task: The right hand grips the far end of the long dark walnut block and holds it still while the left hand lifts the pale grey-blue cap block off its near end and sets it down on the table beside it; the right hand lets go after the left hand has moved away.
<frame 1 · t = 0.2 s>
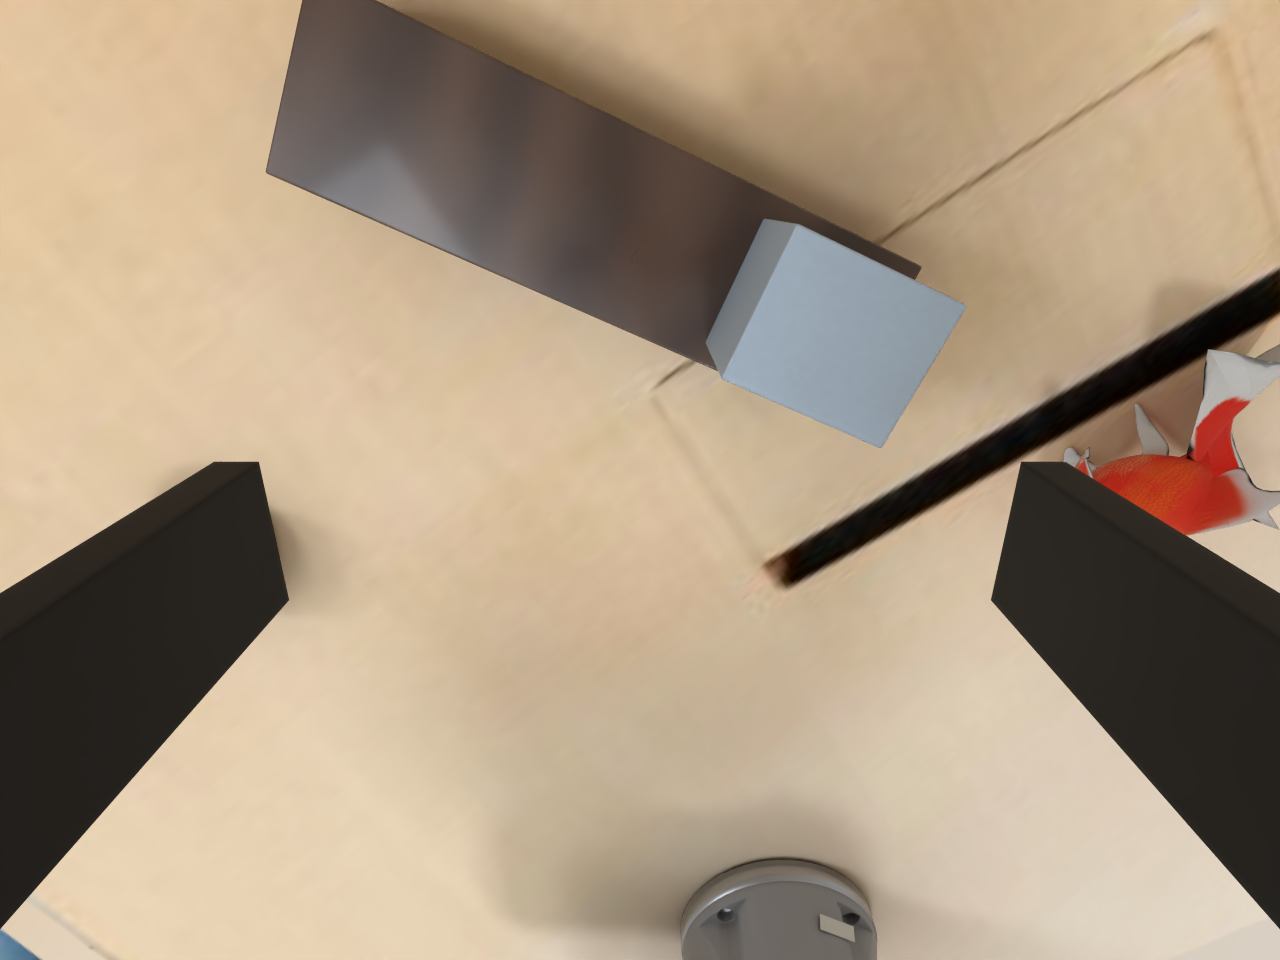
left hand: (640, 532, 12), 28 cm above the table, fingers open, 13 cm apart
walnut base: (607, 217, 36), on the table, touching cap block
fish: (1135, 426, 40), on the table
cap block: (801, 313, 32), point 6 cm above the table, touching walnut base
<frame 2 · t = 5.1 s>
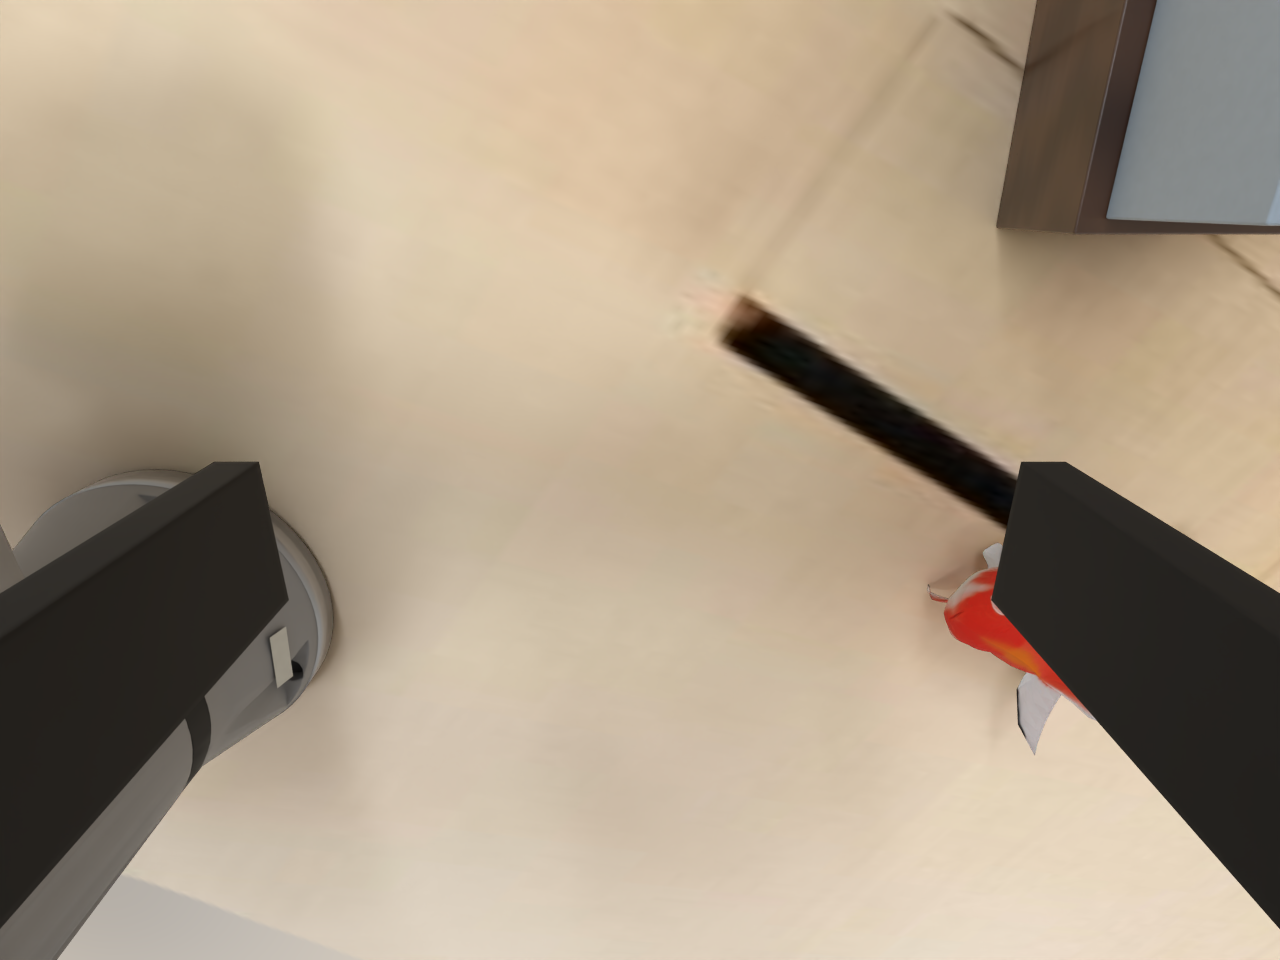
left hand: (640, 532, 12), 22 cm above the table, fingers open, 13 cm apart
fish: (1036, 590, 38), on the table
cap block: (1217, 109, 24), point 6 cm above the table, touching walnut base
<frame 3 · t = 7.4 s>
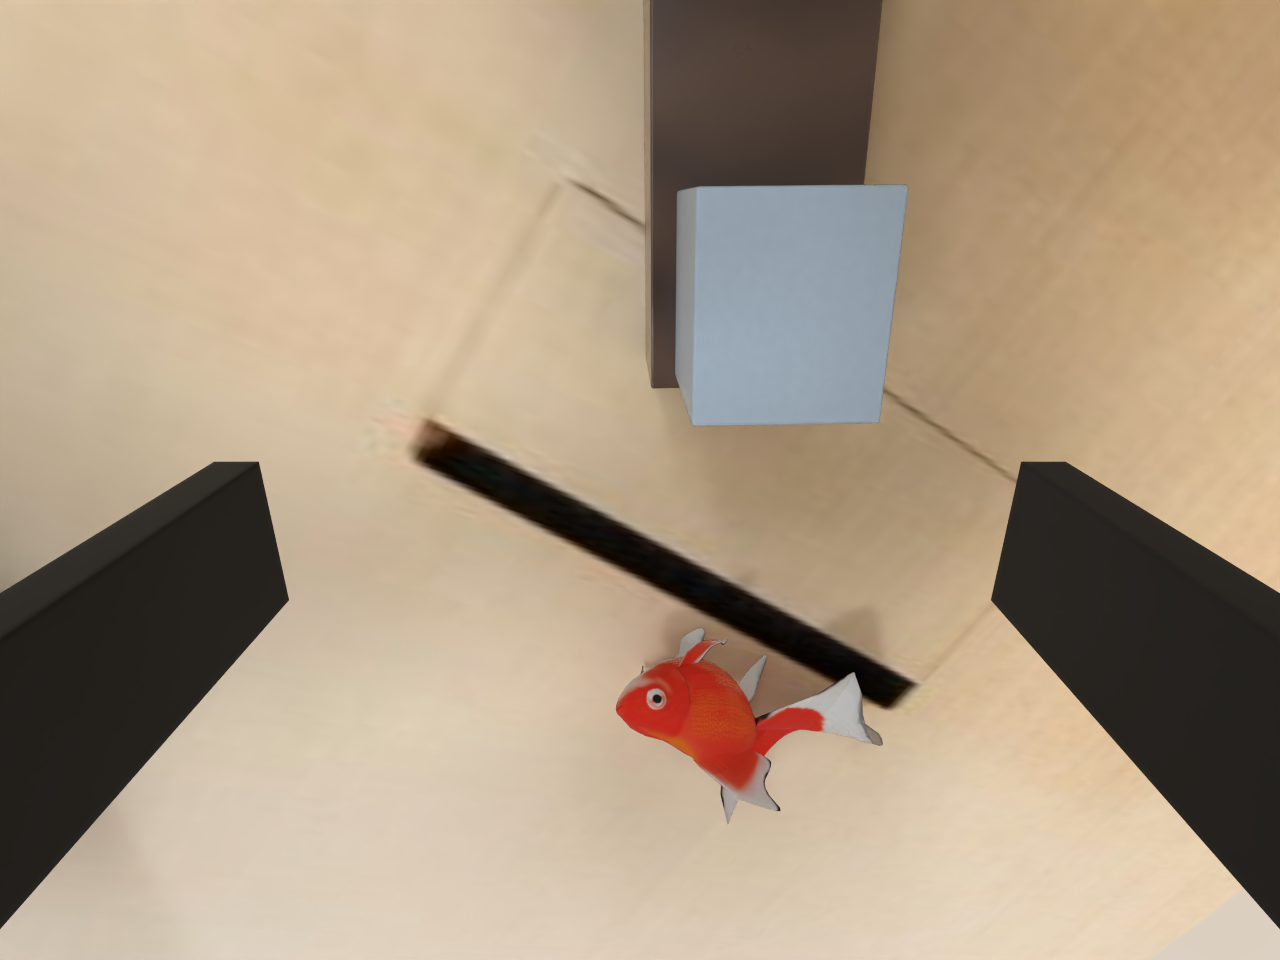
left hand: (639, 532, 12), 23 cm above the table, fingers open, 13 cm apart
walnut base: (739, 24, 29), on the table, touching cap block
fish: (745, 668, 41), on the table
cap block: (752, 286, 27), point 6 cm above the table, touching walnut base
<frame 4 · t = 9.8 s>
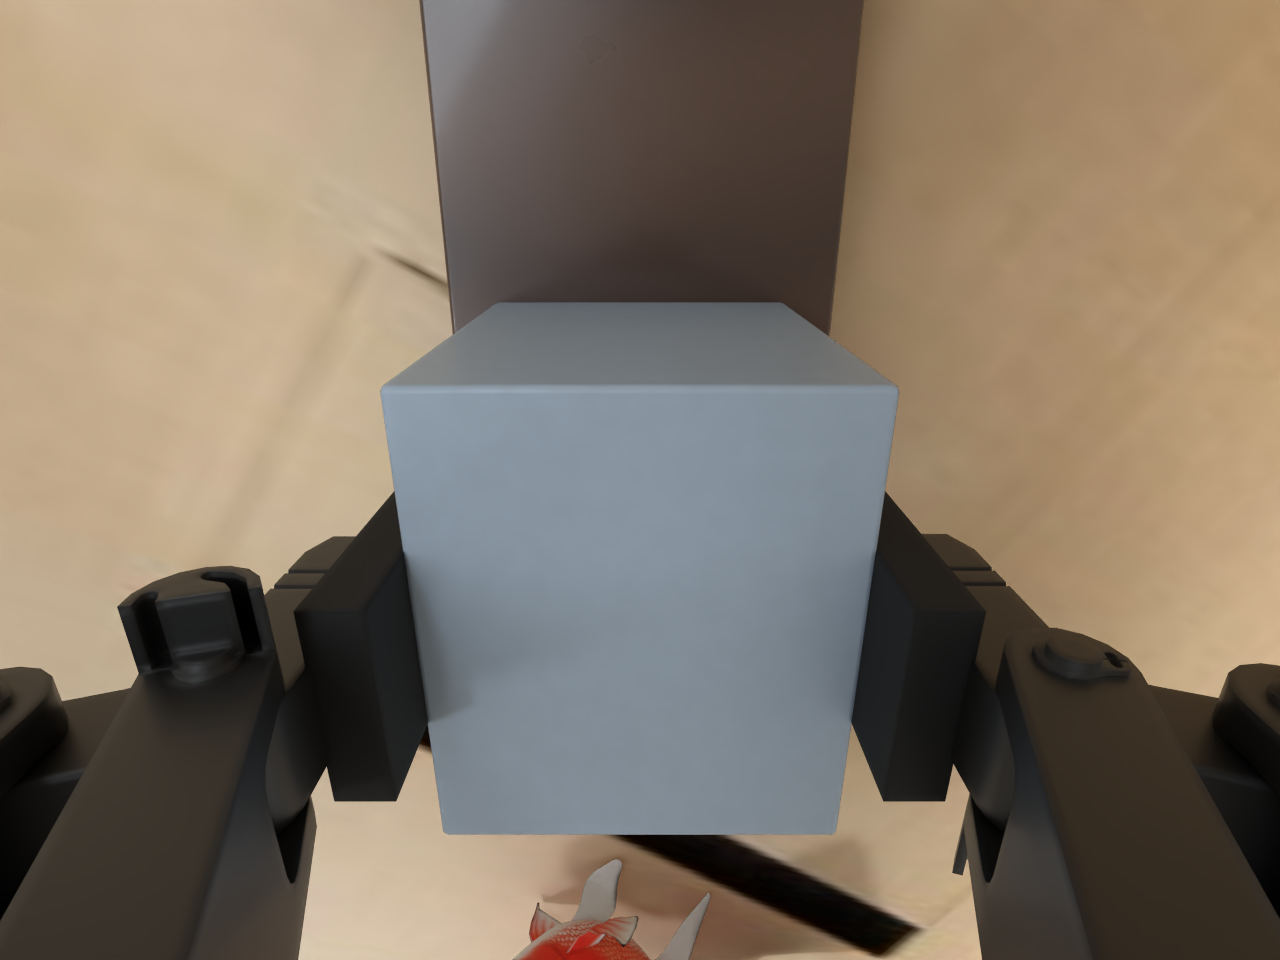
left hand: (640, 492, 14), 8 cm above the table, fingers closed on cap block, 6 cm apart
walnut base: (641, 6, 18), on the table, touching cap block
fish: (682, 906, 30), on the table
cap block: (639, 460, 16), point 6 cm above the table, touching left hand, walnut base
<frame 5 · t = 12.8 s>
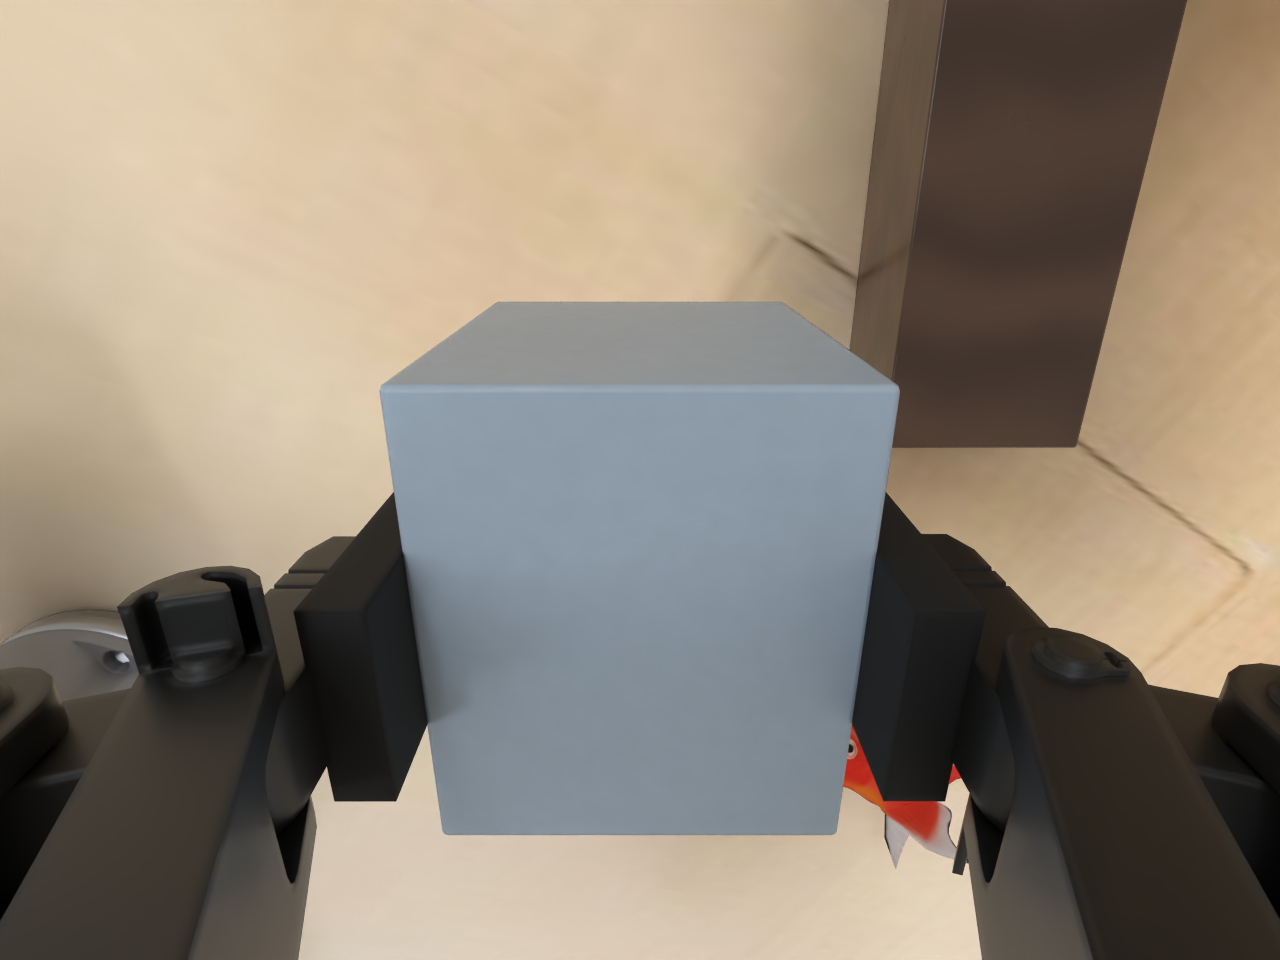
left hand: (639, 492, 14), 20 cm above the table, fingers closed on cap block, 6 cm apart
walnut base: (975, 82, 29), on the table
fish: (906, 710, 41), on the table
cap block: (639, 459, 16), point 18 cm above the table, touching left hand
when the left hand's fingers open (3 cm above the table, at t = 16.1 s): cap block drops 2 cm, on the table.
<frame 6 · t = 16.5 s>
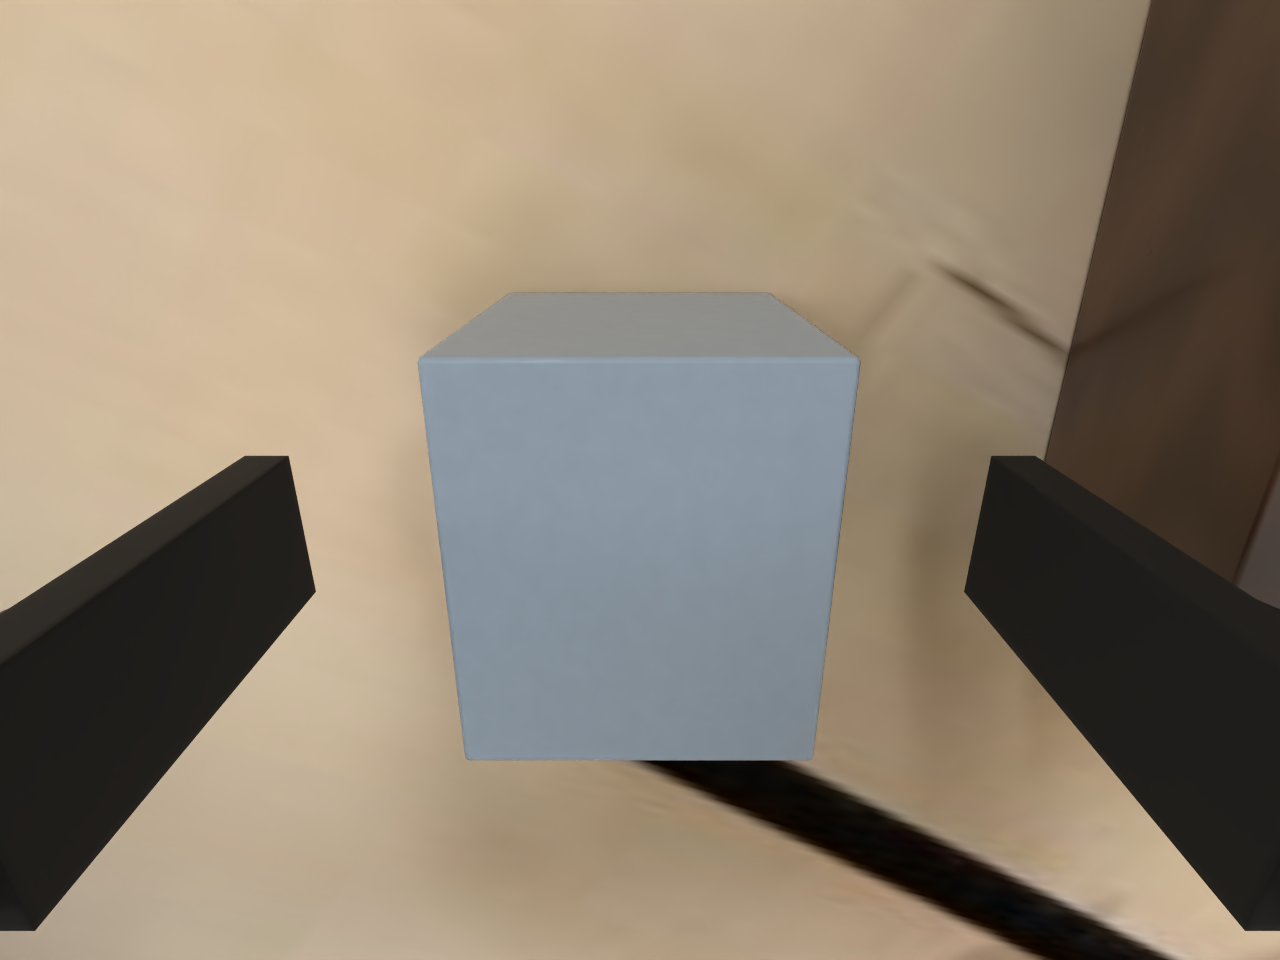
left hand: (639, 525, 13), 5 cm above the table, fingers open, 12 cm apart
cap block: (639, 438, 17), on the table
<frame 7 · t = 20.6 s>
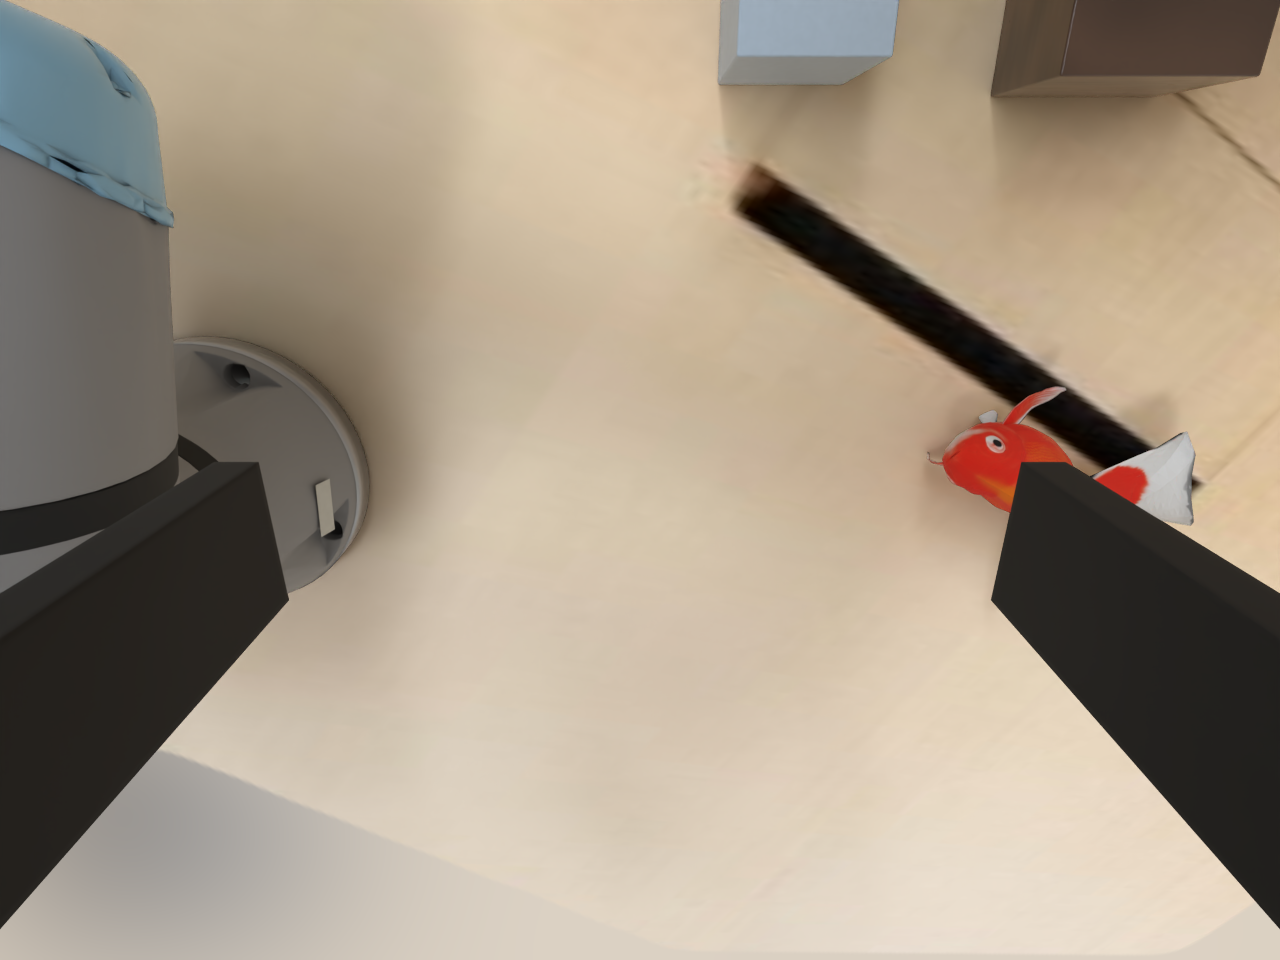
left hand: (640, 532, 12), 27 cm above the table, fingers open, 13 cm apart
fish: (1029, 459, 40), on the table
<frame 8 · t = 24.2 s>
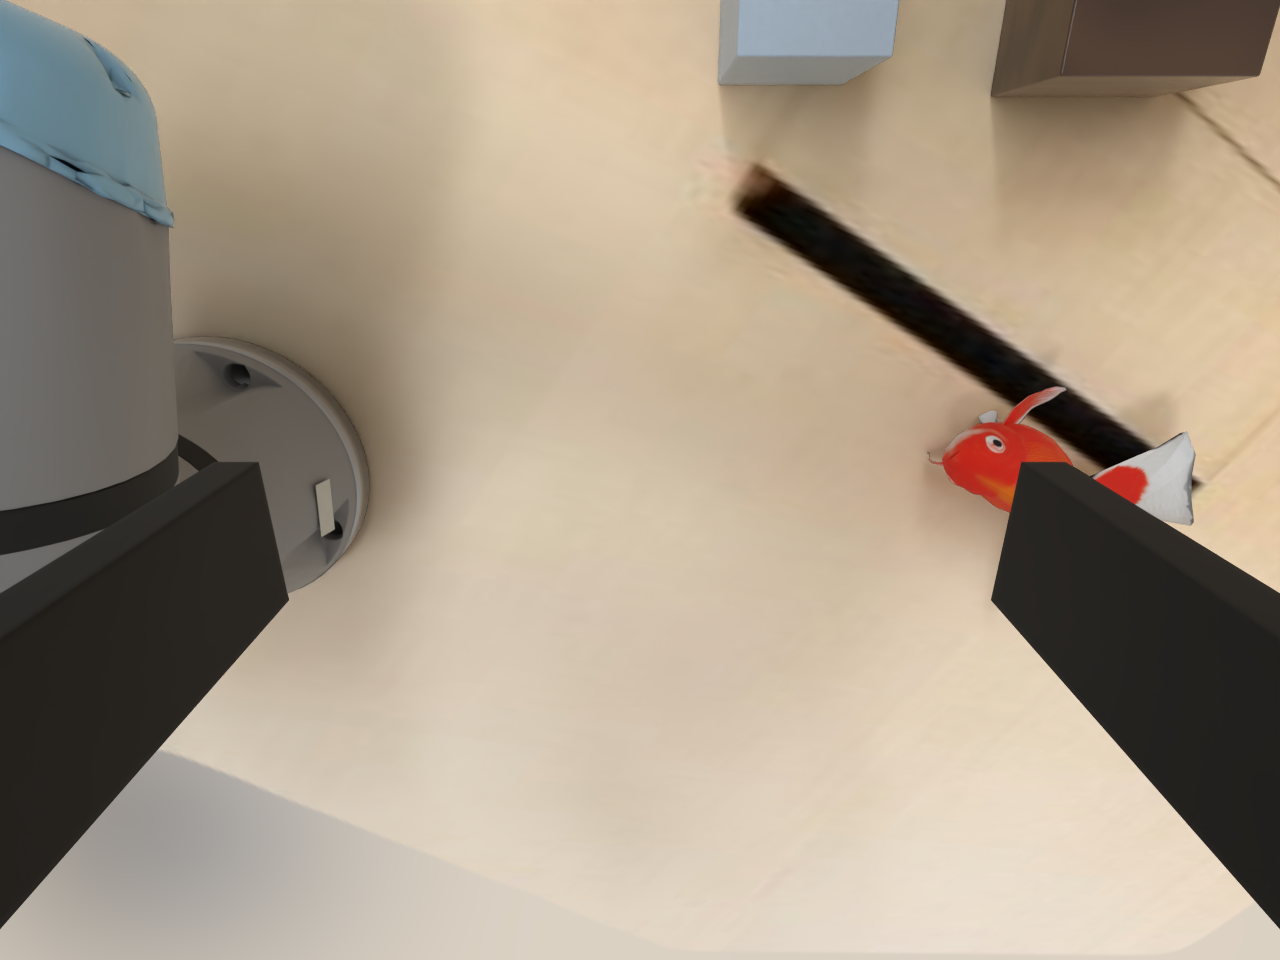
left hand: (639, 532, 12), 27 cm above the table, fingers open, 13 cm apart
fish: (1029, 459, 40), on the table
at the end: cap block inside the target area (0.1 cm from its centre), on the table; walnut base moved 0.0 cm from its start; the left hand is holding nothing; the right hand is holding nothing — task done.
